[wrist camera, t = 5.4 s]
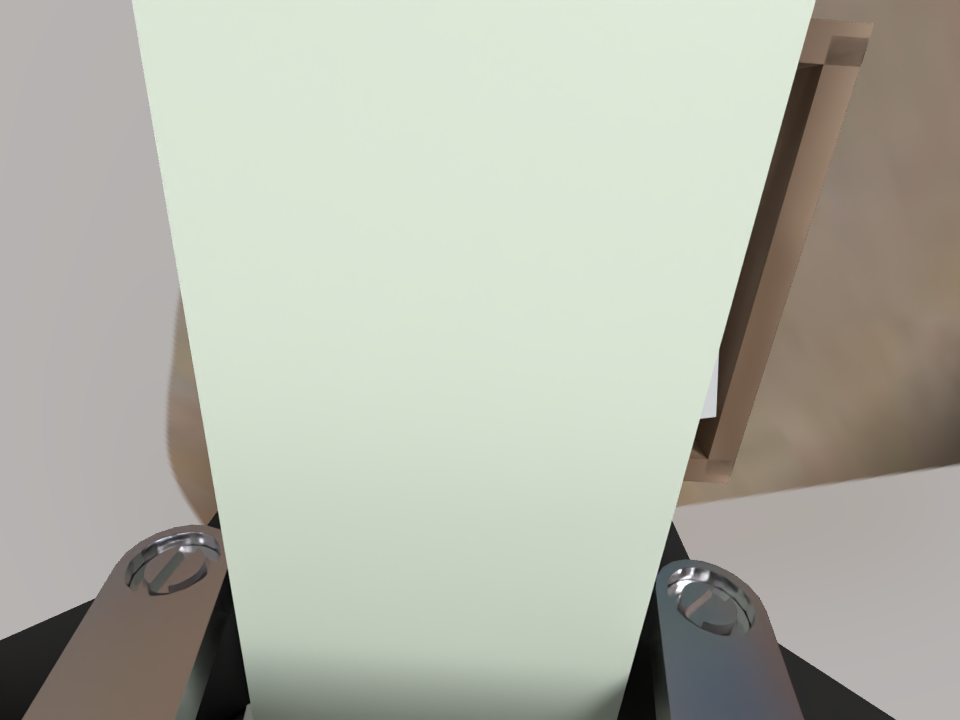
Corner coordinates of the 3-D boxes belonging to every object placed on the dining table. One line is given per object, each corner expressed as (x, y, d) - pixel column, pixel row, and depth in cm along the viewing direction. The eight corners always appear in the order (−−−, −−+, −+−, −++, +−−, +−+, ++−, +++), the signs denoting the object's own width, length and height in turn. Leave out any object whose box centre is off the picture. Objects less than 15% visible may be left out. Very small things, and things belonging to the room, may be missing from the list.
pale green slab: (542, 80, 21) (892, -277, 3) (506, 424, 27) (533, 1022, 9) (442, 73, 21) (73, -345, 3) (430, 419, 27) (302, 1007, 9)
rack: (802, 43, 25) (912, 12, 19) (695, 435, 34) (744, 507, 27) (378, 9, 25) (341, -34, 18) (381, 415, 33) (357, 482, 27)
